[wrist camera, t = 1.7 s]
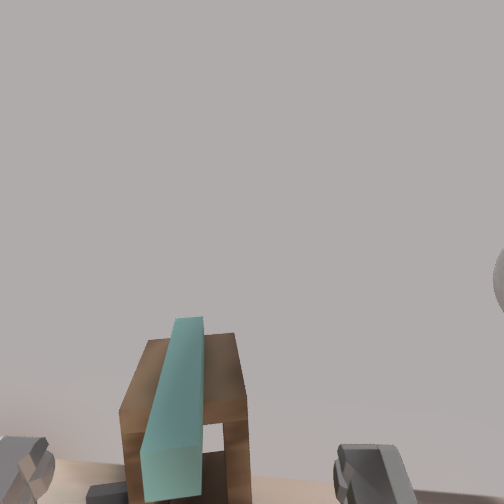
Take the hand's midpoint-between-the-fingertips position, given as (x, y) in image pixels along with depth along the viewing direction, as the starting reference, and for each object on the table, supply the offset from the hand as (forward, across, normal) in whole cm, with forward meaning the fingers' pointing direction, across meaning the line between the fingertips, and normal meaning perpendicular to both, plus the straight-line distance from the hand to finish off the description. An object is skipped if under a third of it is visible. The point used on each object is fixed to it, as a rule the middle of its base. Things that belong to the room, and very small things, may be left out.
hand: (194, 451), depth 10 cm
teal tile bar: (+14, +4, +15) cm, 21 cm away
